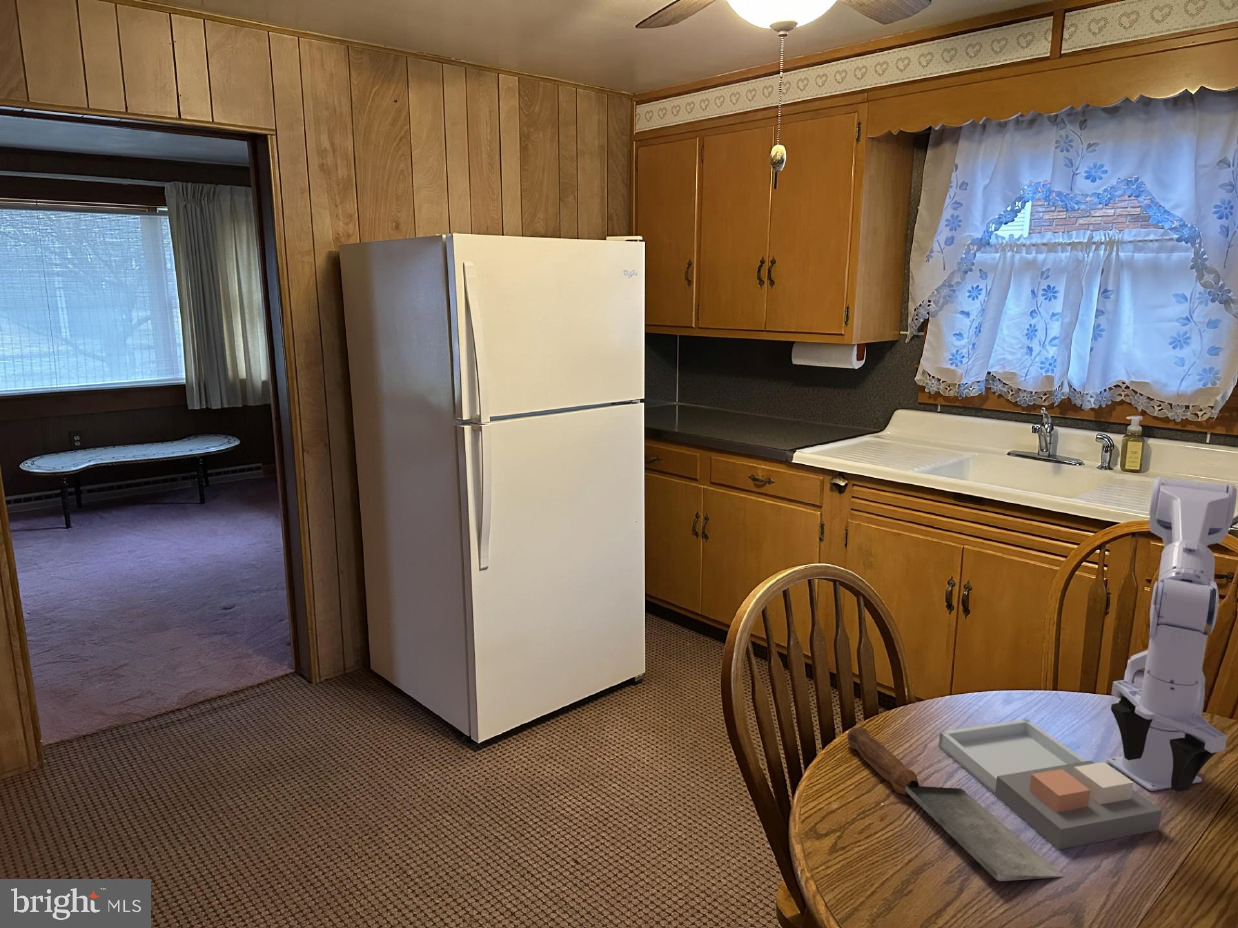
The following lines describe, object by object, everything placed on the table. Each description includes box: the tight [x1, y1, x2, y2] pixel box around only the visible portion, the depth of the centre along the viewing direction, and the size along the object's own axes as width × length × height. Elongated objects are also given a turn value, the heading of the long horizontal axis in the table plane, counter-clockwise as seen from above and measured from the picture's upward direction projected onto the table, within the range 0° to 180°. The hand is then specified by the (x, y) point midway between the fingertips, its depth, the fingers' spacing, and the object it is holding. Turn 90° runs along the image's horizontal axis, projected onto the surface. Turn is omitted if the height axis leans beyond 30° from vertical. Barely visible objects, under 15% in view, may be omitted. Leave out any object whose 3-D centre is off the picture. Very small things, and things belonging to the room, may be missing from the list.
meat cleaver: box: [847, 727, 1065, 882], centre depth 117 cm, size 34×11×4 cm, turn 17°
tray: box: [938, 718, 1087, 796], centre depth 127 cm, size 16×13×2 cm
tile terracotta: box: [1029, 769, 1090, 812], centre depth 113 cm, size 5×5×2 cm
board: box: [994, 760, 1163, 850], centre depth 115 cm, size 16×12×3 cm
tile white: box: [1073, 761, 1134, 805], centre depth 115 cm, size 5×5×2 cm
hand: (1155, 773), depth 106 cm, fingers open, 6 cm apart
